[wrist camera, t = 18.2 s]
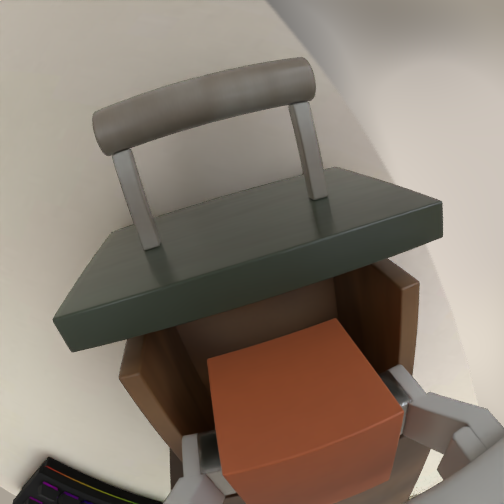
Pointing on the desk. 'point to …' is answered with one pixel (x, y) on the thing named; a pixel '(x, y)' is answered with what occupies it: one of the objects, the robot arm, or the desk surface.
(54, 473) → the keyboard
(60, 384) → the desk surface
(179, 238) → the drawer
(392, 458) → the block
